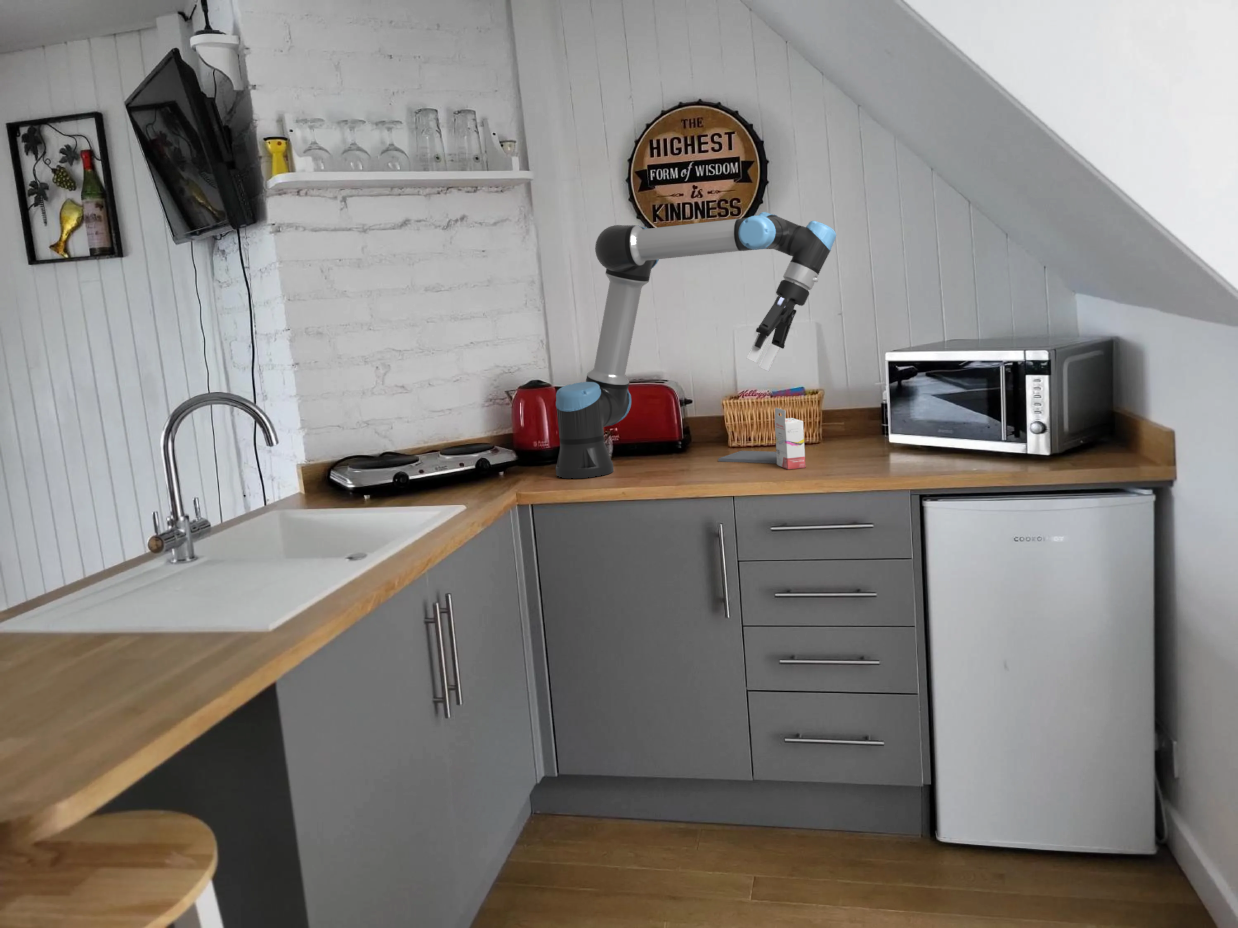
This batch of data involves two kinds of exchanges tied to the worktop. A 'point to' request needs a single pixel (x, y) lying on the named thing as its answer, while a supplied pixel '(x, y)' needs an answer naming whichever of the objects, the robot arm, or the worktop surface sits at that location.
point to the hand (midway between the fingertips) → (757, 365)
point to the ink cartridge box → (789, 441)
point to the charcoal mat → (751, 457)
